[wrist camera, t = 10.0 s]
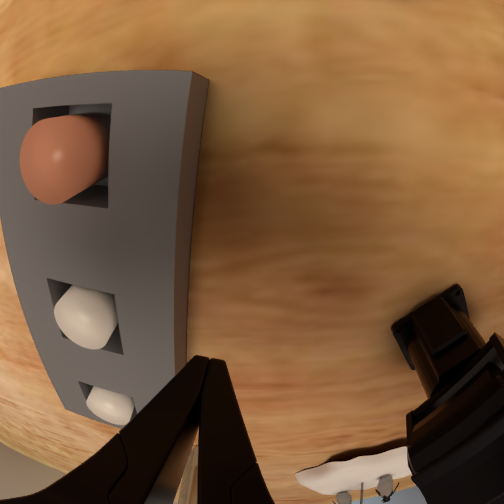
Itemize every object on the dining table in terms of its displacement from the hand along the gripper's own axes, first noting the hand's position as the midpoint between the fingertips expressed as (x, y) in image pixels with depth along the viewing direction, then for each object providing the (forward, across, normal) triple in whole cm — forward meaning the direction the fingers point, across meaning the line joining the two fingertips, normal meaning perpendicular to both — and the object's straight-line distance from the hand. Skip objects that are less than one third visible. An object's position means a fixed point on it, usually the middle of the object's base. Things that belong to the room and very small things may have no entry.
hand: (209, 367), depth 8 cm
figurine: (+12, -22, +34) cm, 43 cm away
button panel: (+11, +9, +6) cm, 15 cm away
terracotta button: (+9, +9, -4) cm, 13 cm away
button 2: (+10, +9, +16) cm, 21 cm away
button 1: (+10, +9, +6) cm, 15 cm away
